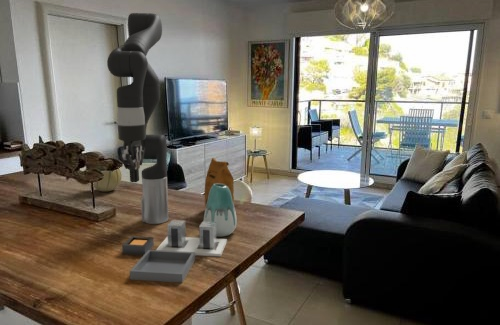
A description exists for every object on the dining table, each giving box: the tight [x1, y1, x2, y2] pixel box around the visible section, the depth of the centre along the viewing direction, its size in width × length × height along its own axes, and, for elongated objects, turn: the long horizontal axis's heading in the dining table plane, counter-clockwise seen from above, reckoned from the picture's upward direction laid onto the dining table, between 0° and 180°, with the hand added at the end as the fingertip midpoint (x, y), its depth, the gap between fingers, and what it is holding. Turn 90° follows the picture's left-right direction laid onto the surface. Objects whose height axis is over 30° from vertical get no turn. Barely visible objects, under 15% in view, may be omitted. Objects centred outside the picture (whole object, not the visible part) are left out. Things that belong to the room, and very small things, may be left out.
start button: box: [130, 240, 147, 245], centre depth 114 cm, size 4×4×2 cm
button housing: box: [121, 235, 155, 256], centre depth 114 cm, size 7×7×4 cm
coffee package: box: [204, 157, 235, 209], centre depth 151 cm, size 10×12×22 cm
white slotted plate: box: [155, 235, 228, 257], centre depth 116 cm, size 20×11×2 cm, turn 84°
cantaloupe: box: [93, 168, 123, 192], centre depth 181 cm, size 15×15×15 cm
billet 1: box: [166, 219, 187, 248], centre depth 116 cm, size 4×5×9 cm
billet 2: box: [198, 221, 218, 250], centre depth 115 cm, size 4×5×9 cm
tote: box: [129, 249, 196, 283], centre depth 102 cm, size 14×13×4 cm
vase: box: [203, 183, 238, 238], centre depth 129 cm, size 12×12×18 cm
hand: (134, 181), depth 110 cm, fingers closed
